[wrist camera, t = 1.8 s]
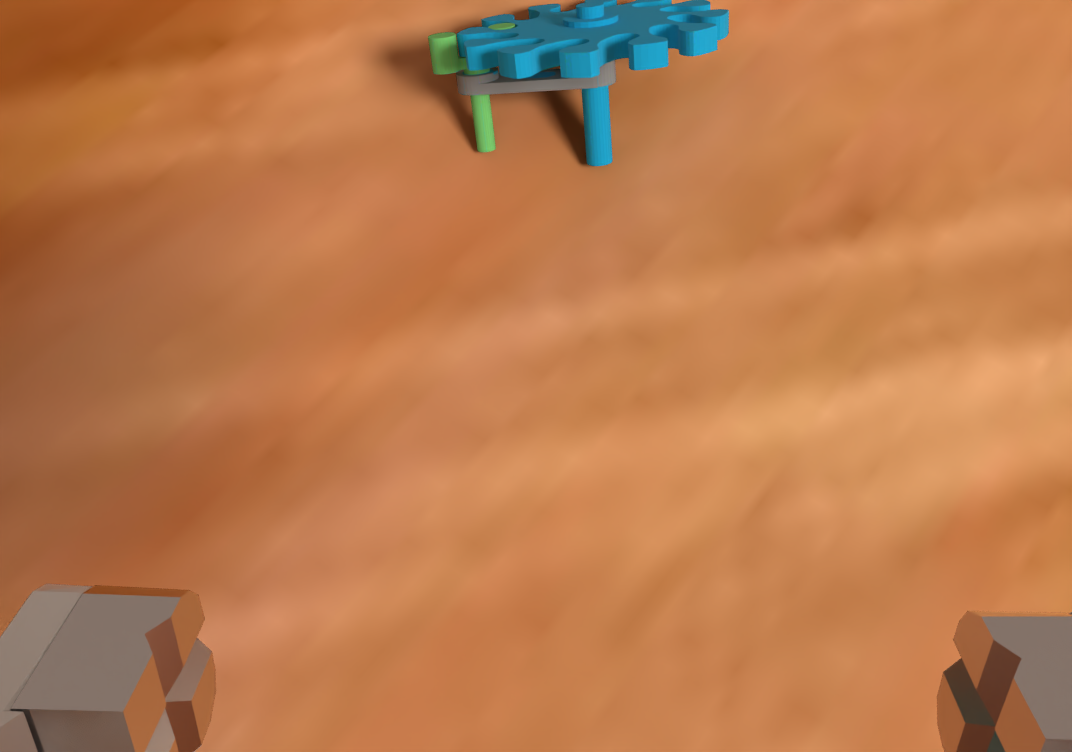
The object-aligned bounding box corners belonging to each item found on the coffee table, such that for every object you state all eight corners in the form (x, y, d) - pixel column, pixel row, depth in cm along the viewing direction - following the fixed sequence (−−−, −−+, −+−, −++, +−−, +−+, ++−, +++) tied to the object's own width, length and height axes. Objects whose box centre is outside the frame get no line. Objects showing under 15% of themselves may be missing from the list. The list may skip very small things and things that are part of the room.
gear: (725, -28, 39) (733, 21, 30) (724, 119, 42) (732, 201, 33) (457, -7, 41) (394, 45, 32) (474, 132, 44) (421, 213, 35)
